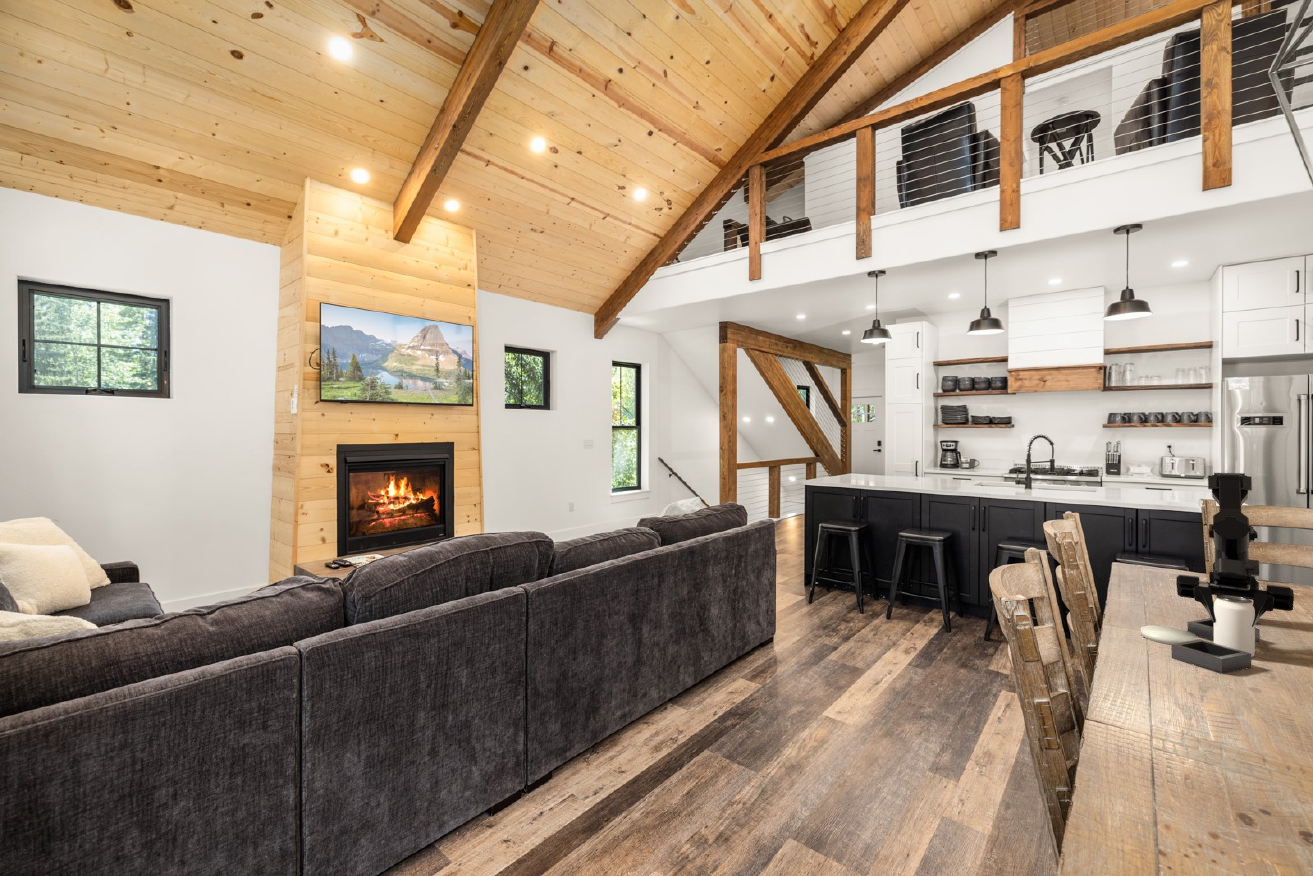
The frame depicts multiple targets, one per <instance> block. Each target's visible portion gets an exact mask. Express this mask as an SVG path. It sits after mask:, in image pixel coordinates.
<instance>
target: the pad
mask: <svg viewBox="0 0 1313 876" xmlns="http://www.w3.org/2000/svg"><path fill="white" fill-rule="evenodd" d="M1140 636H1141V637H1142V636H1143V638H1144V637H1145V639H1146V640H1149V641H1152V642H1155V641H1156V642H1155V643H1159V642H1160V643H1159V644H1164V645H1168V646H1171V644H1176V643H1182V642H1187V641H1193V640H1198V637H1197V636H1196V635H1195V634H1193V633H1191V632H1188V630H1185V629H1181V628H1177V627H1172V626H1171V627H1170V626H1164V625H1151V624H1150V625H1144V626H1141V627H1140Z"/></svg>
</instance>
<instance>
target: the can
mask: <svg viewBox="0 0 1313 876" xmlns="http://www.w3.org/2000/svg"><path fill="white" fill-rule="evenodd" d="M1215 596H1216V595H1215ZM1213 603H1214V614H1215V618H1216V622H1215V623H1214V641H1213V643H1215V644H1219V645H1222V646H1226V647H1230V648H1233V649H1237V650H1241V651H1244V652H1248V653H1251V658H1253V657H1254V656H1255V655H1256V652H1255V650H1256V649H1255V648H1256V643H1255V628H1256V625H1254V626H1253V627H1252V624H1253V622H1254V618H1255V609H1254V607H1253V600H1251V599H1246V598H1241V597H1236V596H1227V595H1219V596H1216V599H1215V600H1214V601H1213Z"/></svg>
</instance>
